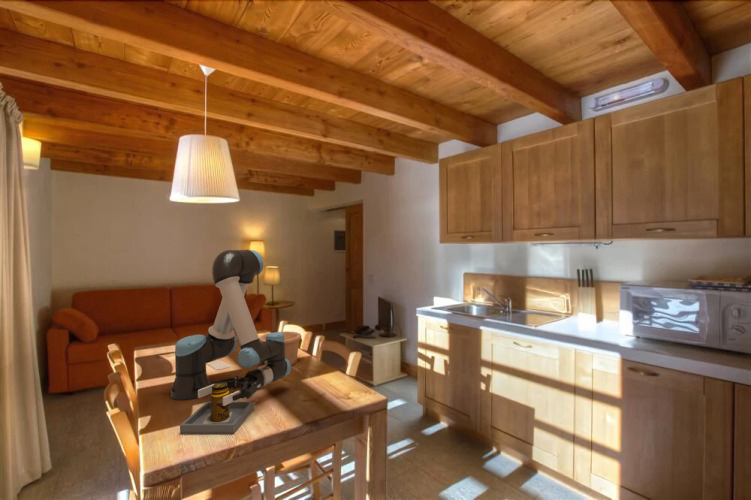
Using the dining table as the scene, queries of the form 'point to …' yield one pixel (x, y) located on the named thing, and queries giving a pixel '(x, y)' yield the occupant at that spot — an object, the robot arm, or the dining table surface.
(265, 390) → the dining table surface
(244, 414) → the tray
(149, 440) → the dining table surface
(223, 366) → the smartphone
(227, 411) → the condiment
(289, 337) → the pottery
